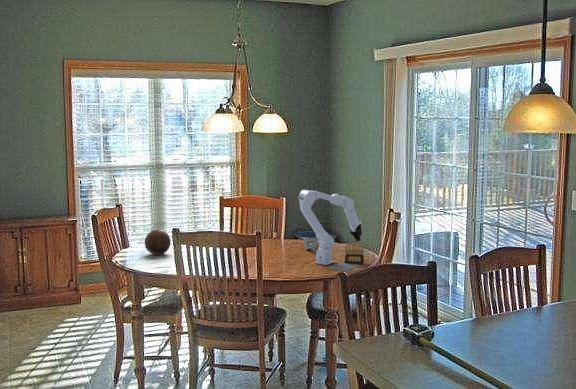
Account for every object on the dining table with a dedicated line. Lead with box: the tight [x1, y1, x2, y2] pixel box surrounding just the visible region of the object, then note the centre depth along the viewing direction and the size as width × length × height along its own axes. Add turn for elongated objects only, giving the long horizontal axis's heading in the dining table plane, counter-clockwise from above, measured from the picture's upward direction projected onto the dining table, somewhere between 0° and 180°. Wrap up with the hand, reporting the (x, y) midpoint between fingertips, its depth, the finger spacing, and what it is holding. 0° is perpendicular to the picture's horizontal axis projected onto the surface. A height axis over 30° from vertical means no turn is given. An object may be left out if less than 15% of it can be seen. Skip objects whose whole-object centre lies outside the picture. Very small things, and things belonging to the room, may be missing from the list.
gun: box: [303, 238, 319, 253], centre depth 403 cm, size 3×25×15 cm, turn 19°
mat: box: [326, 262, 361, 272], centre depth 364 cm, size 17×12×1 cm
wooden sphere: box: [144, 229, 171, 256], centre depth 392 cm, size 15×15×15 cm
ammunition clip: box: [343, 241, 365, 265], centre depth 373 cm, size 11×2×12 cm, turn 95°
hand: (359, 238), depth 382 cm, fingers open, 7 cm apart
